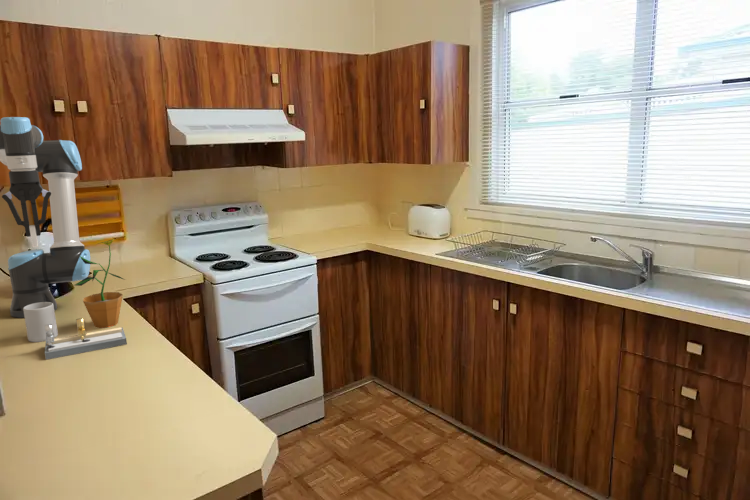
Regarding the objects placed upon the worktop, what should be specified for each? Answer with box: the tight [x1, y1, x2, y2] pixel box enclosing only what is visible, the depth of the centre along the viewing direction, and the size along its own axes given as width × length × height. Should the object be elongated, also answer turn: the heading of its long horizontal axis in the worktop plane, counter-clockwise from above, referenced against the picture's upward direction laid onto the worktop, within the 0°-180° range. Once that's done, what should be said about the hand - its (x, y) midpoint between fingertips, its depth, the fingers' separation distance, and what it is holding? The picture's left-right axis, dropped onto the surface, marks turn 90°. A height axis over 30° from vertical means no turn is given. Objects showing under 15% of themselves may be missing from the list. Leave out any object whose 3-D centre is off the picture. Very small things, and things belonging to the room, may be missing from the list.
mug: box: [23, 302, 59, 343], centre depth 178 cm, size 12×8×11 cm
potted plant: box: [74, 237, 126, 329], centre depth 186 cm, size 18×19×30 cm
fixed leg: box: [45, 324, 56, 347], centre depth 164 cm, size 8×2×5 cm, turn 30°
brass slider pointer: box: [75, 317, 87, 341], centre depth 168 cm, size 8×2×5 cm, turn 30°
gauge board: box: [44, 327, 128, 360], centre depth 169 cm, size 12×22×3 cm, turn 120°
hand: (35, 246), depth 167 cm, fingers closed
